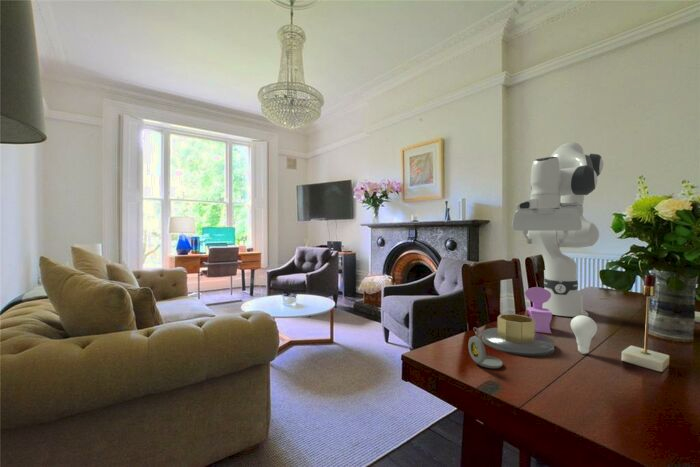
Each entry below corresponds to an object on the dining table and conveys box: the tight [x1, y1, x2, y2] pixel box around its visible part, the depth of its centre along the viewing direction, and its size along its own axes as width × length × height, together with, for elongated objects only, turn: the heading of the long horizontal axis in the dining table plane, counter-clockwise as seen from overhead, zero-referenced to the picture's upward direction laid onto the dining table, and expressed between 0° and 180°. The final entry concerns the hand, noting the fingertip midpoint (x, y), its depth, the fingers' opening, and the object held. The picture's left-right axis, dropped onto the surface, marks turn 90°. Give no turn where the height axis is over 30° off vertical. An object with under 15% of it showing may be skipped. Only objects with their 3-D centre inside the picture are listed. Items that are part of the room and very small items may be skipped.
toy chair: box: [524, 286, 553, 334], centre depth 110 cm, size 8×9×15 cm
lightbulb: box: [570, 315, 598, 355], centre depth 88 cm, size 6×6×11 cm
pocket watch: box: [467, 327, 504, 369], centre depth 81 cm, size 8×8×10 cm
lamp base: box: [481, 313, 555, 357], centre depth 96 cm, size 20×20×8 cm
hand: (545, 244), depth 105 cm, fingers open, 8 cm apart
